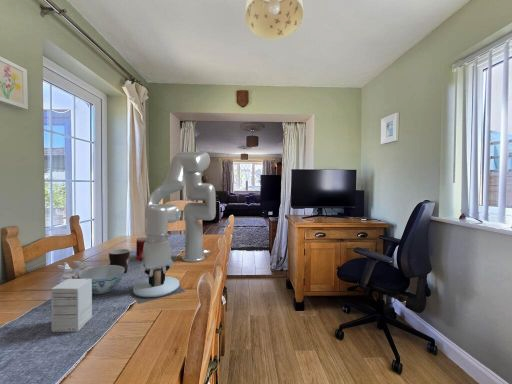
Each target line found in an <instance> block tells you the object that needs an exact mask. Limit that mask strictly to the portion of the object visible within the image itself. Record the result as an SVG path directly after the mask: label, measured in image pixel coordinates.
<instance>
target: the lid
mask: <svg viewBox="0 0 512 384" xmlns="http://www.w3.org/2000/svg"><path fill="white" fill-rule="evenodd" d="M153 276H154V286H151V285H150V284H149V277H148V278H145V279H141V280H140V281H137V282H136V283H135V284H134V285H133V286H134V287H133V293H134V294H135V295H137V296H141V297H159V296H163V295H167V294H170V293H172V292H174V291H175V290H177V289H178V288H179V286H180V280H179V279H178V278H175V277H174V276H168V275H167V276H166V275H165V281H164V284H162V283H161V267H158V268H153Z"/></svg>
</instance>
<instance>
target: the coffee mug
mask: <svg viewBox="0 0 512 384" xmlns="http://www.w3.org/2000/svg"><path fill="white" fill-rule="evenodd" d="M130 252H131V251H130V249H127V248H117V249H113V250H109V251H108V257H109V258H108V259H109V264H110V265H117V266H122V267H124V274H123V275H125V274H126V273H128V268H129V262H130V261H129V260H130Z"/></svg>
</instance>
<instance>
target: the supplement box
mask: <svg viewBox="0 0 512 384" xmlns="http://www.w3.org/2000/svg"><path fill="white" fill-rule="evenodd" d="M92 296H93V293H92V279H79V278H67V279H65V280H64V281H62V282H61V283H58V284H57V285H55V286H53V287H51V289H50V297H51V298H50V305H51V308H50V309H51V310H50V311H51V318H50V319H51V332H52V333H62V332H63V333H64V332H65V333H66V332H79V331H80V330H81V329H82V328H83V327H84V326H85V325H87V323H88V321H90V319H92V317H93V297H92Z"/></svg>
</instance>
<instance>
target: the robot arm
mask: <svg viewBox="0 0 512 384" xmlns="http://www.w3.org/2000/svg"><path fill="white" fill-rule="evenodd" d="M210 157H211V156H210V155H209V153H208V152H206V151H180V152H177V153H176V155H174V156H173V157H172V159H171V161H170V164H169V167H168V171H167V175H166V177H165V180H164V181H163V183H161V184H160V185H159V186H157V187H156V188H155V189H154V190H153V191H152V192H151V193H150V194H149V197H148V200H147V202H146V205H145V209H144V210H145V211H144V216H145V218H146V237H147V242H144V247H143V255H142V260H141V264H140V266H139V268H138V271H139V272H142V273H144V274H146V275H148V278H149V284H150V285H151V286H154V276H153V269H157V268H160V269H161V283H162V284H164V281H165V276H166V273H167V271H168V270H169V269H170V268H172V267H173V266H174V265H175V262H174V261H173V260H172V251H171V244H170V241H169V238H171V236H172V234H171V233H168V224H169V223H170V224H171V223H176V222H178V221H179V220H180V219H181V216H182V210H181V207H179V206H178V205H176V204H166V203H160V202H161V201H162V200H163V199H164V198H166V197H167V196H169V195H172V194H174V193H177V192H179V191H181V190H183V189H184V188H185V195H186V198H187V199H188V200H189V201H195V202H188V203H186V204H185V205H184V206H183V217H184V224H185V225H184V226H185V227H184V228H185V229H184V230H185V231H184V255H182V256H181V260H182V261H183V262H187V263H197V262H201V261H203V260H205V259H206V256H205V255H206V254H209V255H210V254H211V250H210V249H208V250H206V249H203V240H204V239H203V238H204V237H203V235H204V234H203V230H204V228H203V225H202V223H201V221H213V220H214V219H215V218H216V214H217V210H216V209H217V208H216V206H217V201H216V188H215V186H214V185H213V184H212V183H204V182H202V173H201V172H203V171H205V170H207V169H208V168H209V166H210V165H211V158H210ZM196 201H200V202H196ZM202 201H203V202H202Z"/></svg>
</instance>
